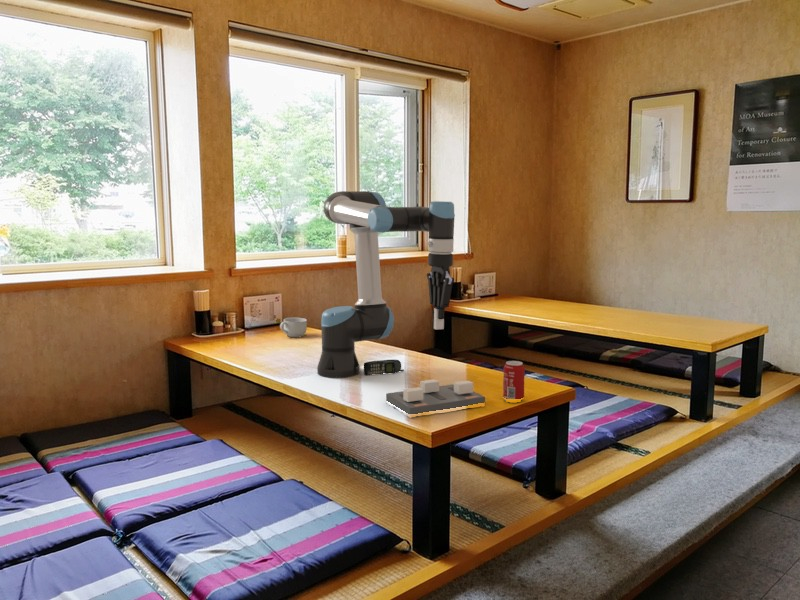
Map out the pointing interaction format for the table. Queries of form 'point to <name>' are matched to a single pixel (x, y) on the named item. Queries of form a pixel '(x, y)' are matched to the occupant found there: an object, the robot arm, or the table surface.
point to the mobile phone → (382, 367)
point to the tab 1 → (413, 394)
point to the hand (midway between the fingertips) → (438, 328)
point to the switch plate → (435, 400)
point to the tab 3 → (463, 387)
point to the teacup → (294, 326)
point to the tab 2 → (429, 386)
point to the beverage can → (513, 380)
